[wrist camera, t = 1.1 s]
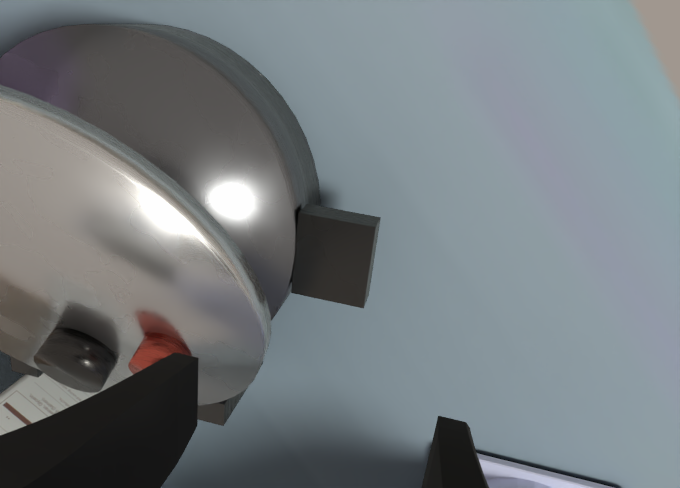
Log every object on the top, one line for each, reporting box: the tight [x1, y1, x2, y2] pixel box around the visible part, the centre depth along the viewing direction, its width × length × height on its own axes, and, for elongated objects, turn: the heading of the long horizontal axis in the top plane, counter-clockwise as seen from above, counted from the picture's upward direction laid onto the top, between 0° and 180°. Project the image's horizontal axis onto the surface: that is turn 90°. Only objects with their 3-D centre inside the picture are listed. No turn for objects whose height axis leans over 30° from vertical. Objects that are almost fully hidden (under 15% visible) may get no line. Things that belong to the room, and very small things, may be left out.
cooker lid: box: [0, 85, 271, 406], centre depth 17 cm, size 14×14×2 cm
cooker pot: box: [0, 24, 380, 426], centre depth 21 cm, size 14×18×4 cm
